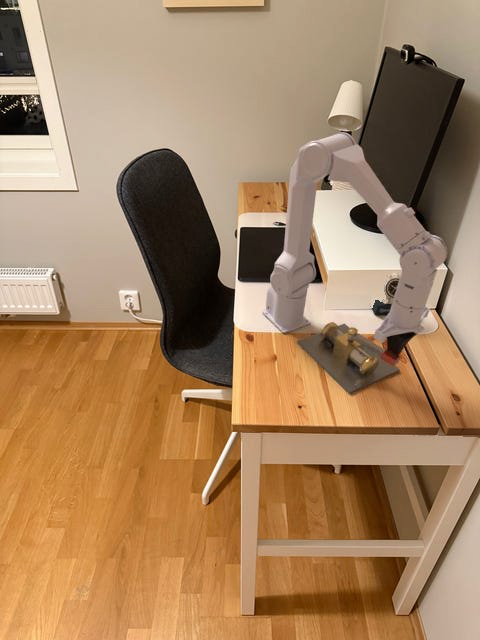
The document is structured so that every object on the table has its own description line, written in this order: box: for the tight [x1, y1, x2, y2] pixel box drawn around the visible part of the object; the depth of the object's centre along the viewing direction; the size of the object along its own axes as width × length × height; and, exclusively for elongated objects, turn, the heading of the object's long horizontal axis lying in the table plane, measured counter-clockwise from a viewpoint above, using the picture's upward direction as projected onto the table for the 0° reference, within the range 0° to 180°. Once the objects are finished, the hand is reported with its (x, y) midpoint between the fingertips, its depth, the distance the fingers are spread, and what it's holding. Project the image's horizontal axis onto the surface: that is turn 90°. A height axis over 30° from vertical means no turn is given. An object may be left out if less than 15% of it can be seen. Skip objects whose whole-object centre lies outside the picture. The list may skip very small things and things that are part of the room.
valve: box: [296, 321, 401, 395], centre depth 99 cm, size 18×14×5 cm
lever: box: [348, 327, 401, 366], centre depth 93 cm, size 12×2×2 cm, turn 42°
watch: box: [371, 272, 401, 317], centre depth 111 cm, size 6×8×11 cm
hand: (392, 354), depth 92 cm, fingers closed
